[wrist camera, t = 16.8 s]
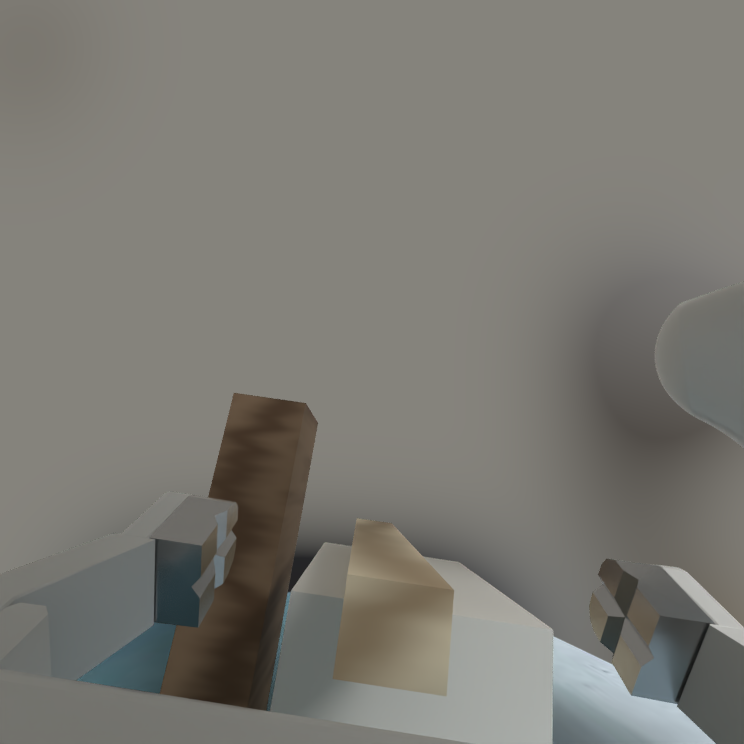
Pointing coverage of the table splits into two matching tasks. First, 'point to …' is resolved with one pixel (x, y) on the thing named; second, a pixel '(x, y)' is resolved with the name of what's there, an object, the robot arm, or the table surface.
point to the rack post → (249, 555)
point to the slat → (393, 615)
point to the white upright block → (465, 675)
